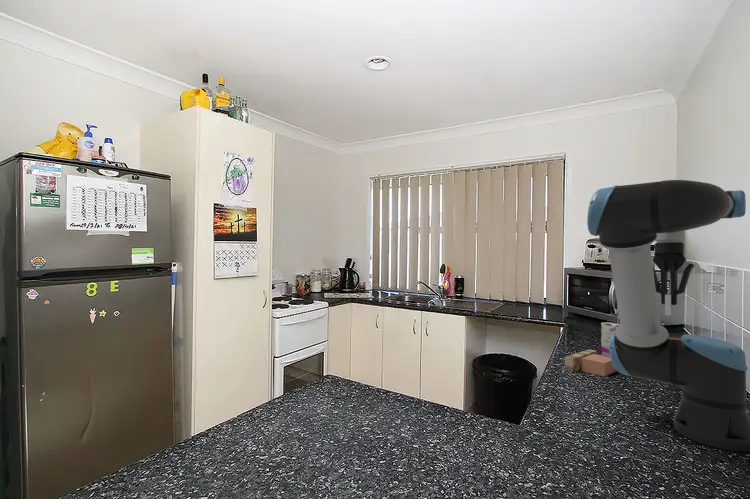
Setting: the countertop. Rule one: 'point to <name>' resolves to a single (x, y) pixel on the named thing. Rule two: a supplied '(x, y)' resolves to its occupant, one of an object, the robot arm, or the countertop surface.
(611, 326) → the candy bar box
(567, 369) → the board
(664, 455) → the countertop surface
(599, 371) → the block
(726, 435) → the robot arm
